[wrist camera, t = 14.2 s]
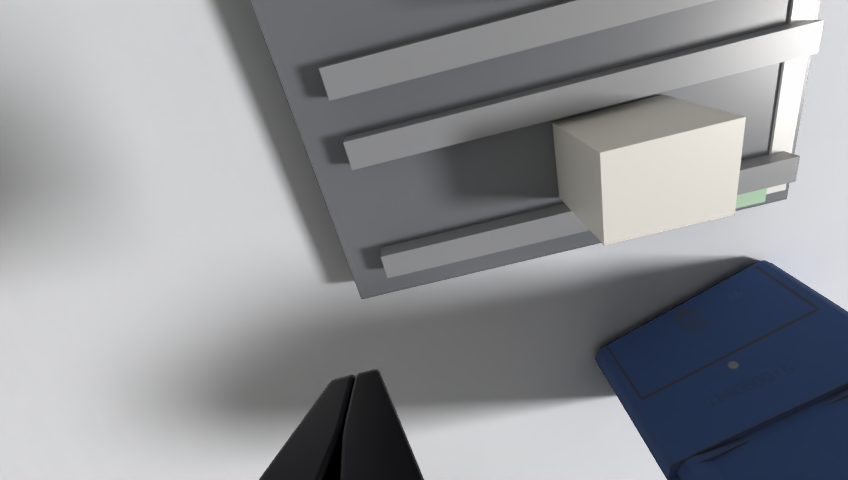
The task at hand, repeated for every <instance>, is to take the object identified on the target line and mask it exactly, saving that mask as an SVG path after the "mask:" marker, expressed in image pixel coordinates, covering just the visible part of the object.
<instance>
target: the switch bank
mask: <svg viewBox="0 0 848 480" xmlns="http://www.w3.org/2000/svg"><path fill="white" fill-rule="evenodd" d="M250 1H251V4H252V6H253V9H254V12H255V15H256V17H257V20H258V23H259V25H260V28H261V31H262V33H263V36H264V39H265V41H266V44H267V47H268V49H269V52H270V55H271V58H272V60H273V63H274V66H275V68H276V71H277V74H278V76H279V79H280V82H281V84H282V87H283V90H284V92H285V95H286V98H287V101H288V103H289V106H290V109H291V111H292V114H293V117H294V119H295V122H296V125H297V127H298V130H299V133H300V135H301V138H302V141H303V143H304V146H305V149H306V152H307V154H308V157H309V160H310V162H311V165H312V168H313V170H314V173H315V176H316V178H317V181H318V184H319V186H320V189H321V192H322V195H323V197H324V200H325V203H326V205H327V208H328V211H329V213H330V216H331V219H332V221H333V224H334V227H335V229H336V232H337V235H338V238H339V240H340V243H341V246H342V248H343V251H344V254H345V256H346V259H347V262H348V264H349V267H350V270H351V272H352V275H353V278H354V281H355V283H356V286H357V289H358V291H359V294H360V297H361V299H365V298H369V297H373V296H378V295H382V294H386V293H390V292H395V291H399V290H403V289H407V288H412V287H416V286H420V285H424V284H428V283H433V282H437V281H441V280H445V279H450V278H454V277H458V276H462V275H467V274H471V273H475V272H479V271H484V270H488V269H492V268H496V267H500V266H505V265H509V264H513V263H517V262H522V261H526V260H530V259H534V258H539V257H543V256H547V255H551V254H556V253H560V252H564V251H568V250H573V249H577V248H581V247H585V246H589V245H594V244H598V243H601V242H600V241H599V239H598V238H597V237H596V236H595V235H594V234H593V233H592V232H591V231H590V230H589V229H588V228H587V227H586V226H585V225H584V224H583V222H582V221H581V220H580V219H579V218H578V217H577V216H576V215H575V214H574V213H573V212H572V211H571V210H570V209H569V208H568V207H567V206H566V204H565V203H564V202H563V201H562V200H561V199H560V198H559V189H558V179H557V168H556V158H555V147H554V137H553V126H552V122H556V121H559V120H563V119H567V118H571V117H575V116H579V115H583V114H587V113H591V112H595V111H599V110H603V109H607V108H611V107H615V106H619V105H623V104H627V103H631V102H635V101H639V100H643V99H647V98H651V97H655V96H659V95H663V94H664V95H667V96H671V97H675V98H678V99H682V100H686V101H689V102H693V103H697V104H700V105H704V106H708V107H712V108H715V109H719V110H723V111H726V112H730V113H734V114H737V115H741V116H745V117H746V121H745V130H744V138H743V147H742V156H741V165H740V174H739V183H738V191H737V200H736V209H735V211H738V210H742V209H746V208H750V207H755V206H759V205H763V204H767V203H772V202H776V201H780V200H784V199H787V193H788V188H789V183H790V182H795V180H796V175H797V169H798V164H799V158H800V156H797V155H794V153H795V147H796V141H797V135H798V130H799V124H800V118H801V112H802V106H803V100H804V95H805V89H806V83H807V77H808V71H809V66H810V60H811V55H812V54H816V53H818V52H819V46H820V41H821V35H822V29H823V24H824V20H817V19H818V13H819V8H820V2H821V0H250Z"/></svg>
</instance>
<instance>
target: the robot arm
mask: <svg viewBox="0 0 848 480" xmlns="http://www.w3.org/2000/svg"><path fill="white" fill-rule="evenodd" d="M259 480H424V478H423V476H422V473H421V471H420V469H419V466H418V464H417V461H416V459H415V456H414V454H413V452H412V449H411V447H410V444H409V442H408V439H407V437H406V435H405V432H404V430H403V427H402V425H401V422H400V420H399V418H398V415H397V413H396V410H395V408H394V405H393V403H392V400H391V398H390V396H389V393H388V391H387V388H386V386H385V383H384V381H383V379H382V376H381V374H380V372H379V370H377V369H375V370H371V371H366V372H362V373H359V374H357V375H356V376H354V375H349V376H345V377H340V378H336V379H334V380H332V381H331V382H330V383H329V384H328V386H327V387H326V389H325V390H324V391H323V393H322V394H321V395H320V397H319V398H318V399H317V401H316V402H315V404H314V405H313V406H312V408H311V409H310V410H309V412H308V413H307V415H306V416H305V417H304V419H303V420H302V421H301V423H300V424H299V426H298V427H297V428H296V430H295V431H294V432H293V434H292V435H291V436H290V438H289V439H288V441H287V442H286V443H285V445H284V446H283V447H282V449H281V450H280V452H279V453H278V454H277V456H276V457H275V458H274V460H273V461H272V462H271V464H270V465H269V467H268V468H267V469H266V471H265V472H264V473H263V475H262V476H261V478H260V479H259Z"/></svg>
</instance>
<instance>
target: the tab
mask: <svg viewBox="0 0 848 480" xmlns="http://www.w3.org/2000/svg"><path fill="white" fill-rule="evenodd" d="M745 121H746V117H745V116H741V115H737V114H734V113H730V112H726V111H723V110H719V109H715V108H712V107H708V106H704V105H700V104H697V103H693V102H689V101H686V100H682V99H678V98H675V97H671V96H667V95H664V94H663V95H659V96H655V97H651V98H647V99H643V100H639V101H635V102H631V103H627V104H623V105H619V106H615V107H611V108H607V109H603V110H599V111H595V112H591V113H587V114H583V115H579V116H575V117H571V118H567V119H563V120H559V121H556V122H552V126H553V137H554V147H555V158H556V168H557V179H558V189H559V198H560V199H561V200H562V201H563V202H564V203H565V204H566V206H567V207H568V208H569V209H570V210H571V211H572V212H573V213H574V214H575V215H576V216H577V217H578V218H579V219H580V220H581V221H582V222H583V224H584V225H585V226H586V227H587V228H588V229H589V230H590V231H591V232H592V233H593V234H594V235H595V236H596V237H597V238H598V239H599V241H600V242H601V243H602V244H603V245H609V244H613V243H617V242H621V241H626V240H630V239H634V238H638V237H643V236H647V235H651V234H655V233H660V232H664V231H668V230H672V229H676V228H681V227H685V226H689V225H693V224H698V223H702V222H706V221H710V220H715V219H719V218H723V217H727V216H732V215H735V209H736V200H737V191H738V183H739V174H740V165H741V156H742V147H743V138H744V130H745Z"/></svg>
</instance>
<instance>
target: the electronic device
mask: <svg viewBox="0 0 848 480" xmlns="http://www.w3.org/2000/svg"><path fill="white" fill-rule="evenodd" d="M595 359H596V362H597V363H598V365H599V367H600V368H601V370H602V372H603V373H604V375H605V377H606V378H607V380H608V382H609V383H610V385H611V387H612V388H613V390H614V392H615V393H616V395H617V397H618V398H619V400H620V402H621V403H622V405H623V407H624V408H625V410H626V412H627V413H628V415H629V417H630V418H631V420H632V422H633V423H634V425H635V427H636V428H637V430H638V432H639V433H640V435H641V437H642V438H643V440H644V442H645V443H646V445H647V447H648V448H649V450H650V452H651V453H652V455H653V457H654V458H655V460H656V462H657V463H658V465H659V467H660V468H661V470H662V472H663V473H664V475H665V477H666V478H667V480H848V312H847V311H846V310H844V309H843V308H841V307H839V306H838V305H836V304H835V303H833V302H832V301H830V300H829V299H827V298H825V297H824V296H822V295H821V294H819V293H818V292H816V291H814V290H813V289H811V288H810V287H808V286H807V285H805V284H803V283H802V282H800V281H799V280H797V279H796V278H794V277H793V276H791V275H789V274H788V273H786V272H785V271H783V270H782V269H780V268H778V267H777V266H775V265H774V264H772V263H769V262H767V261H759V262H757V263H755V264H753V265H751V266H750V267H748V268H746V269H744V270H742V271H740V272H739V273H737V274H735V275H733V276H731V277H730V278H728V279H726V280H724V281H722V282H721V283H719V284H717V285H715V286H713V287H712V288H710V289H708V290H706V291H704V292H702V293H701V294H699V295H697V296H695V297H693V298H692V299H690V300H688V301H686V302H684V303H683V304H681V305H679V306H677V307H675V308H673V309H672V310H670V311H668V312H666V313H664V314H663V315H661V316H659V317H657V318H655V319H654V320H652V321H650V322H648V323H646V324H645V325H643V326H641V327H639V328H637V329H635V330H634V331H632V332H630V333H628V334H626V335H625V336H623V337H621V338H619V339H617V340H616V341H614V342H612V343H610V344H608V345H606V346H605V347H603V348H601V349H600V350H599V352H598V355H597V356H596V358H595Z"/></svg>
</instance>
